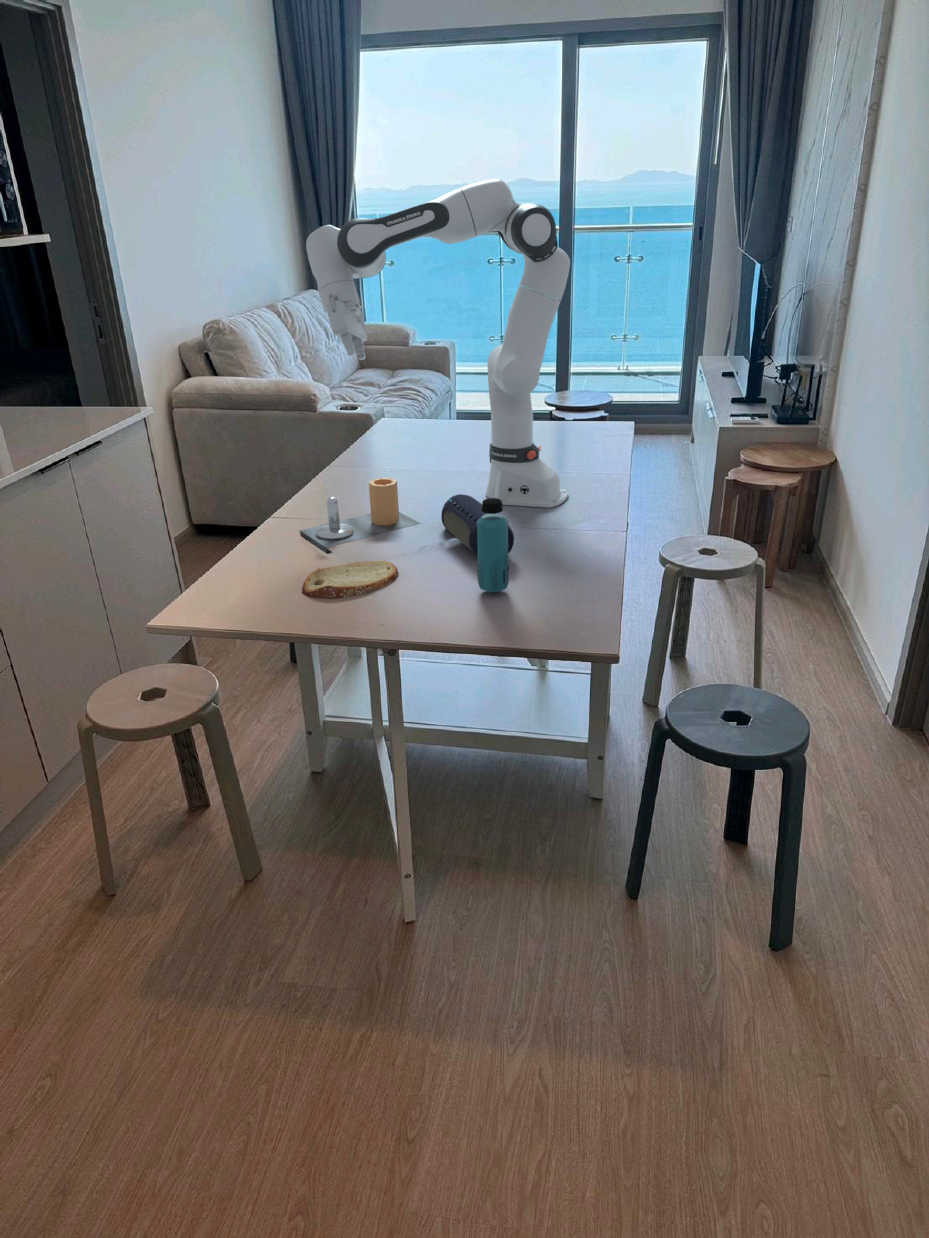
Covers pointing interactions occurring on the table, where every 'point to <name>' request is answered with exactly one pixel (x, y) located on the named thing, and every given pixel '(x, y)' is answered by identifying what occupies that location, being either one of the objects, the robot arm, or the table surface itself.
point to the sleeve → (384, 501)
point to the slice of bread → (349, 579)
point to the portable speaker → (466, 520)
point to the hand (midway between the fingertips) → (357, 357)
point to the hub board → (348, 528)
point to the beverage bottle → (492, 547)
